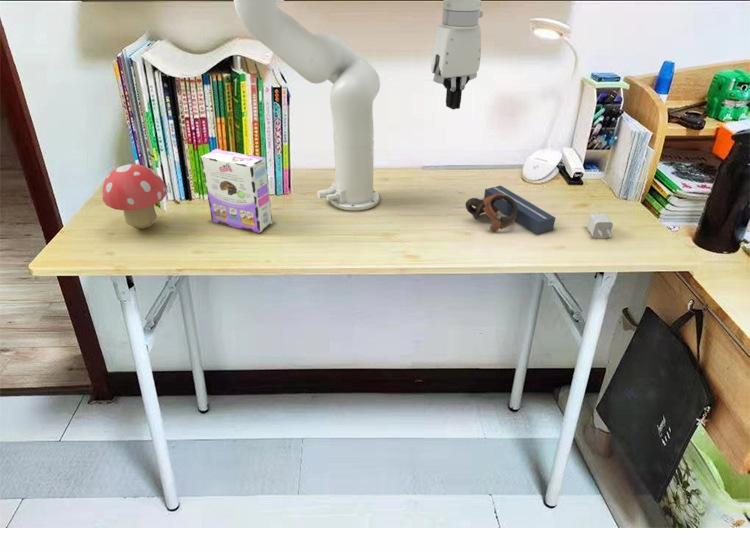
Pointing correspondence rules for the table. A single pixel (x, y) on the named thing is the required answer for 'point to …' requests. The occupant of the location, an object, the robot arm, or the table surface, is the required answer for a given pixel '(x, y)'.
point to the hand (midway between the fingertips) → (452, 107)
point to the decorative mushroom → (134, 193)
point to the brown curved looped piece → (492, 210)
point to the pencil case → (523, 211)
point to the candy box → (237, 189)
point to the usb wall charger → (599, 225)
